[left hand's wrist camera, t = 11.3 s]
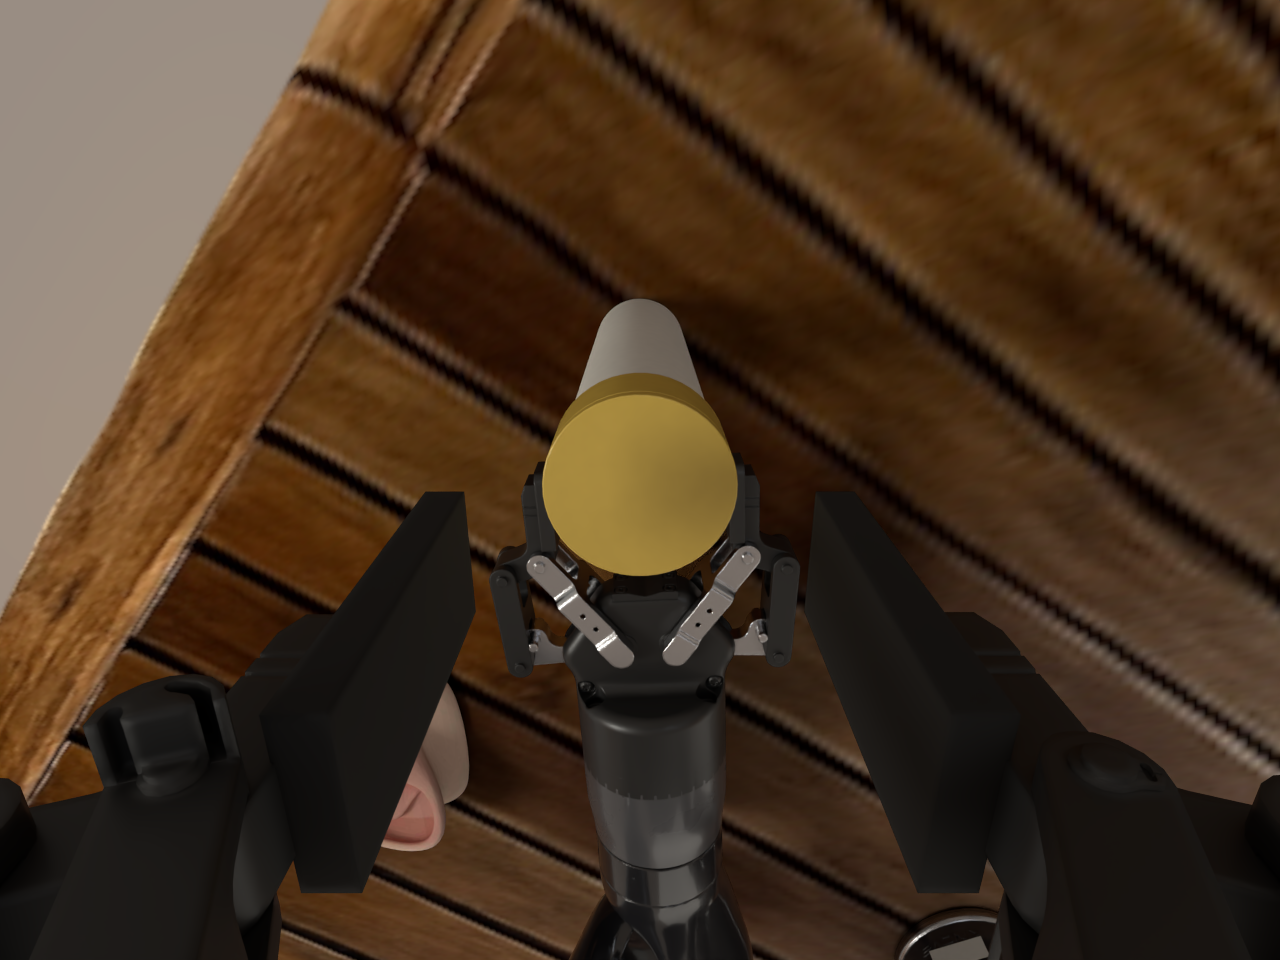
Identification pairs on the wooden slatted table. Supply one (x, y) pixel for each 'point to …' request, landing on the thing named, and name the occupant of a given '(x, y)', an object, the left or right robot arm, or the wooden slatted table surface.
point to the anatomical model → (432, 781)
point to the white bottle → (639, 345)
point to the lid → (639, 475)
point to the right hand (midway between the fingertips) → (638, 462)
